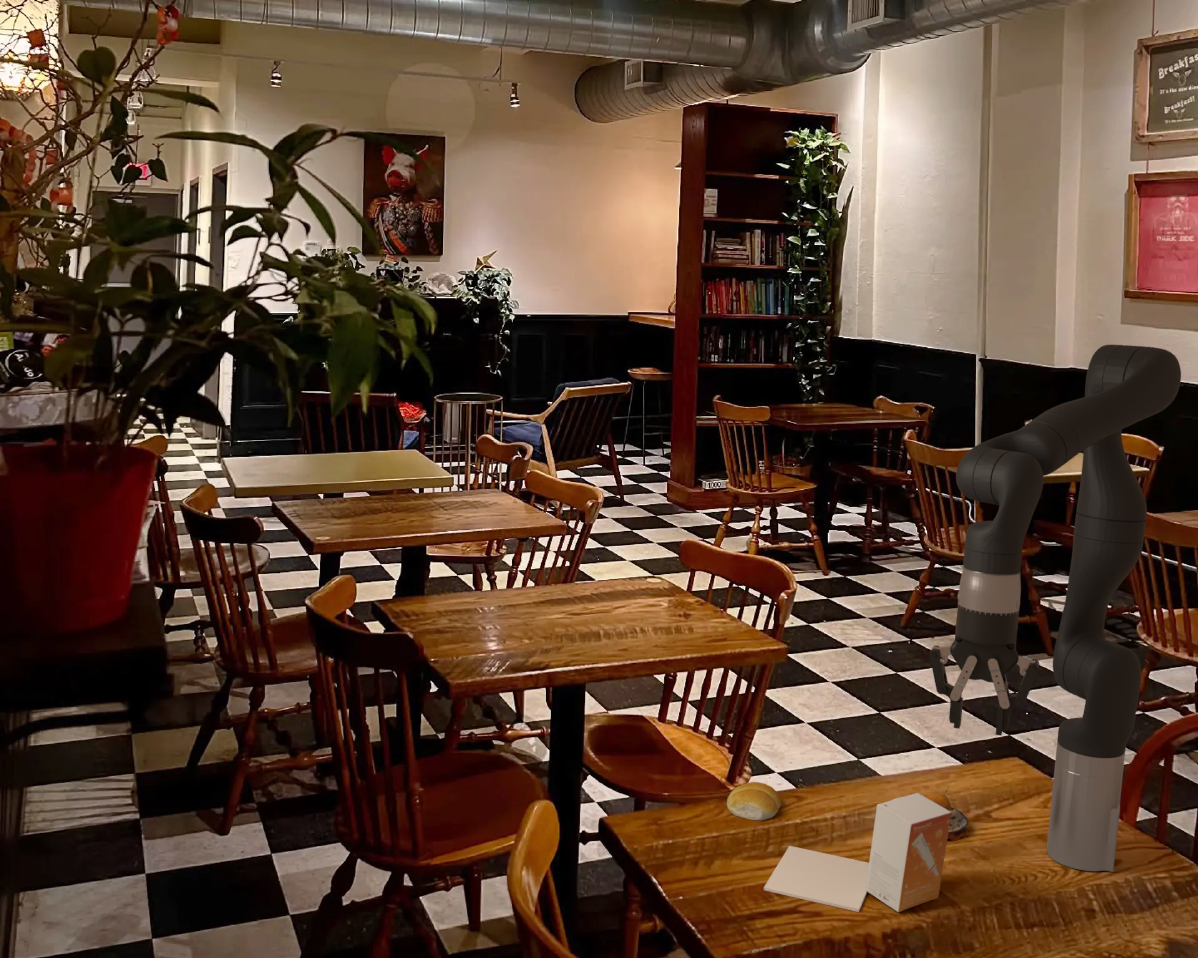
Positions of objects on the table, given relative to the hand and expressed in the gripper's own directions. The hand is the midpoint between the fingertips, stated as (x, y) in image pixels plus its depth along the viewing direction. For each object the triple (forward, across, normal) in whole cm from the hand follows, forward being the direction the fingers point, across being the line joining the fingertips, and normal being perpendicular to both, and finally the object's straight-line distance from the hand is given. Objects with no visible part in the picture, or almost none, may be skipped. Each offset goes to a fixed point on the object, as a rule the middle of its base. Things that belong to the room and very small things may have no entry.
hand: (977, 729), depth 156 cm
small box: (+25, +8, 0) cm, 27 cm away
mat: (+25, +19, 0) cm, 32 cm away
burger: (+26, +8, -25) cm, 37 cm away
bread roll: (+26, +34, -18) cm, 46 cm away
